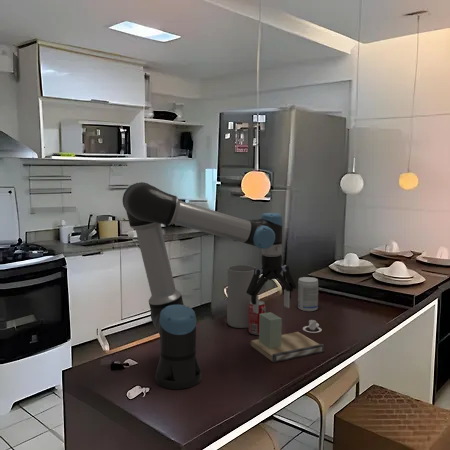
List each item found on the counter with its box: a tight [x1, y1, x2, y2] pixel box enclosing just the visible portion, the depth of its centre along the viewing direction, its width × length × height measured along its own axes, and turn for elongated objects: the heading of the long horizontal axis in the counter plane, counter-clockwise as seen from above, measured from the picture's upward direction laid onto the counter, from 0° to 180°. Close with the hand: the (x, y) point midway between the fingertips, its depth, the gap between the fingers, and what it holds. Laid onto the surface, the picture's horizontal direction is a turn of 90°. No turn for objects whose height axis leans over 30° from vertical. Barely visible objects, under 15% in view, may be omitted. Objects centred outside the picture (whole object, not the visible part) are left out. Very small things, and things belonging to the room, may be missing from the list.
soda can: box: [248, 299, 267, 336], centre depth 195 cm, size 7×7×13 cm
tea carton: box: [258, 311, 283, 349], centre depth 178 cm, size 8×5×11 cm, turn 26°
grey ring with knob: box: [302, 319, 323, 334], centre depth 200 cm, size 9×8×4 cm
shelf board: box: [250, 331, 325, 363], centre depth 180 cm, size 22×17×3 cm
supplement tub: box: [297, 276, 319, 312], centre depth 227 cm, size 10×10×15 cm
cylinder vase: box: [226, 264, 257, 329], centre depth 205 cm, size 12×12×25 cm
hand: (271, 309), depth 177 cm, fingers open, 13 cm apart
